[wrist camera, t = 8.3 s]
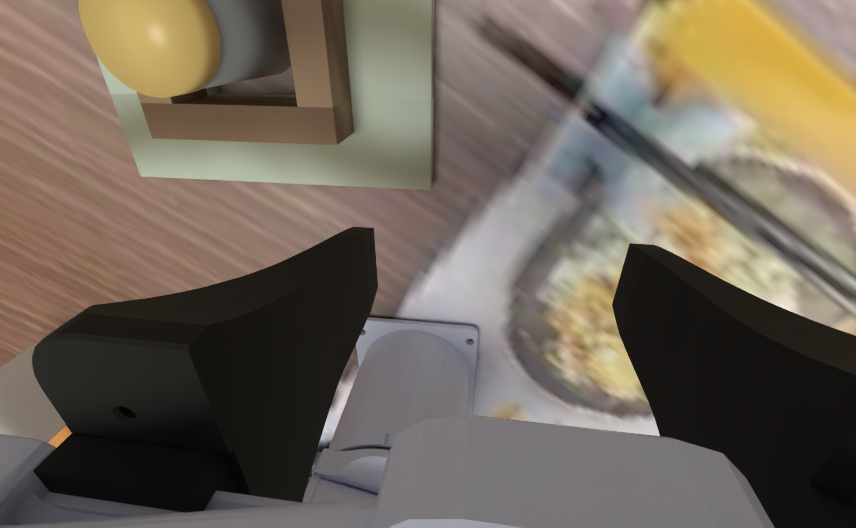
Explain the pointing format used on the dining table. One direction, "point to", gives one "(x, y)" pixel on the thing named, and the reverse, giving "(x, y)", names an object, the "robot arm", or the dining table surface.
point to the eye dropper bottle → (26, 401)
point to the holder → (307, 106)
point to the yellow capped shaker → (186, 42)
